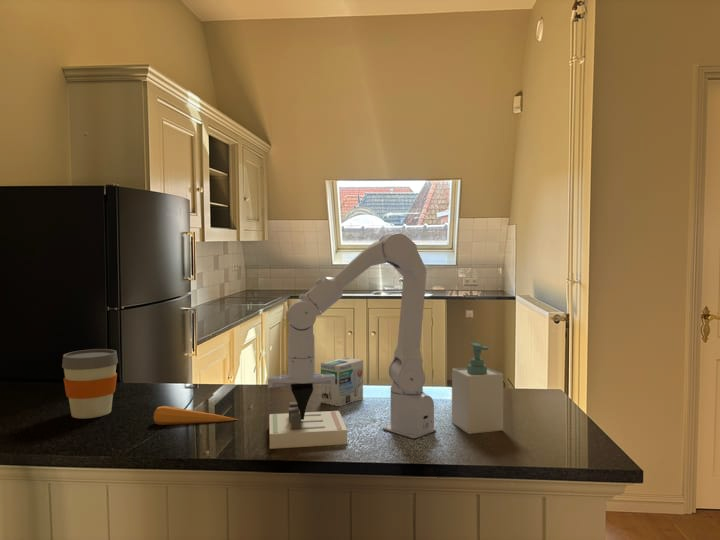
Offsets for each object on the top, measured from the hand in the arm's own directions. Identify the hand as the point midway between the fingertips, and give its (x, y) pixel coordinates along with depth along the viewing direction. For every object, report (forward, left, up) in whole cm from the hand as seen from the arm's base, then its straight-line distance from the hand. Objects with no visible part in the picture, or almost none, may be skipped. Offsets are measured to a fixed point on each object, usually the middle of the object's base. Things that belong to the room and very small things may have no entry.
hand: (302, 418), depth 121 cm
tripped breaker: (+1, +2, 0) cm, 2 cm away
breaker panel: (-1, -1, -4) cm, 4 cm away
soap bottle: (-23, -32, -4) cm, 40 cm away
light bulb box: (+15, -25, -4) cm, 29 cm away
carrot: (+25, +12, -4) cm, 28 cm away
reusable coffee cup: (+51, +27, -4) cm, 57 cm away
